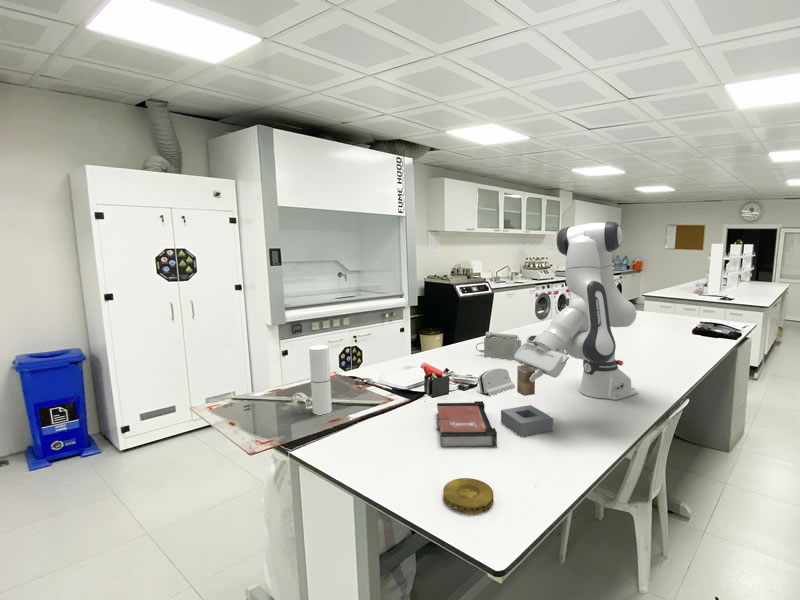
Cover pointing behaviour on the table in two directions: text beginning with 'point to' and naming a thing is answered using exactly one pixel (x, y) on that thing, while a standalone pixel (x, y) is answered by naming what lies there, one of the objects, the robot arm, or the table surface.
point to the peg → (525, 380)
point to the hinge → (495, 381)
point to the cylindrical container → (320, 379)
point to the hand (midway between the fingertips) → (524, 378)
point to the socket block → (526, 420)
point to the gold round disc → (468, 495)
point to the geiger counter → (500, 345)
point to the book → (465, 425)
